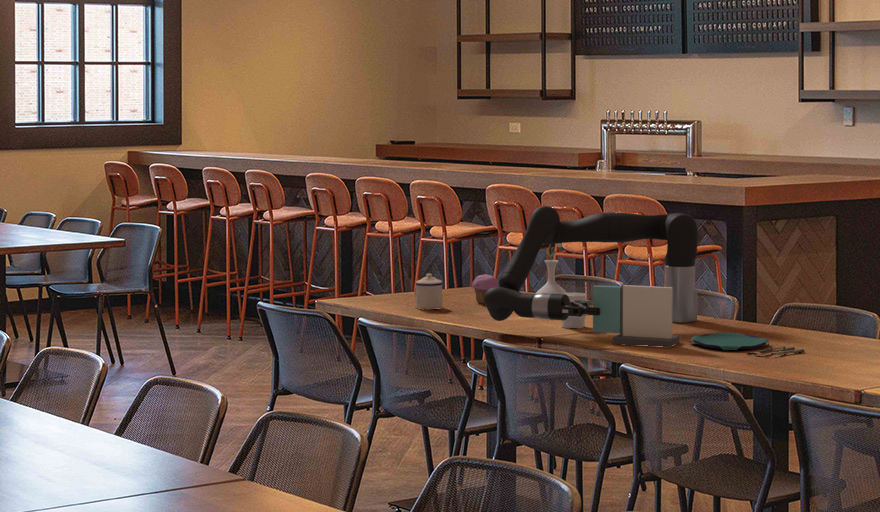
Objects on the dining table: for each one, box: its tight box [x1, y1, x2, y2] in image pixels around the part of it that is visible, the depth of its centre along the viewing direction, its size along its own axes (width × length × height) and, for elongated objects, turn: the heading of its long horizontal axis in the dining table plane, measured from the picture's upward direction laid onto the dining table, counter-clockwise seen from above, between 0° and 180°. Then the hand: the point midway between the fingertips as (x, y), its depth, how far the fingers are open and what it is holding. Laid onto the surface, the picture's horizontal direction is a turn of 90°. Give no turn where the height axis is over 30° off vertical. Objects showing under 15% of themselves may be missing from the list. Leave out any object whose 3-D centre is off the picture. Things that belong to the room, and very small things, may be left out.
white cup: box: [561, 292, 587, 329], centre depth 375 cm, size 8×8×10 cm
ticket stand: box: [612, 284, 680, 347], centre depth 345 cm, size 16×10×16 cm, turn 64°
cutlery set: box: [690, 332, 805, 356], centre depth 337 cm, size 20×30×2 cm, turn 32°
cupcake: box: [471, 273, 499, 305], centre depth 427 cm, size 9×9×10 cm
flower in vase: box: [535, 243, 568, 294], centre depth 432 cm, size 13×11×25 cm
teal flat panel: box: [592, 284, 621, 335], centre depth 350 cm, size 8×2×13 cm, turn 64°
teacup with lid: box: [414, 273, 443, 309], centre depth 417 cm, size 12×9×12 cm
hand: (604, 309), depth 350 cm, fingers open, 8 cm apart
